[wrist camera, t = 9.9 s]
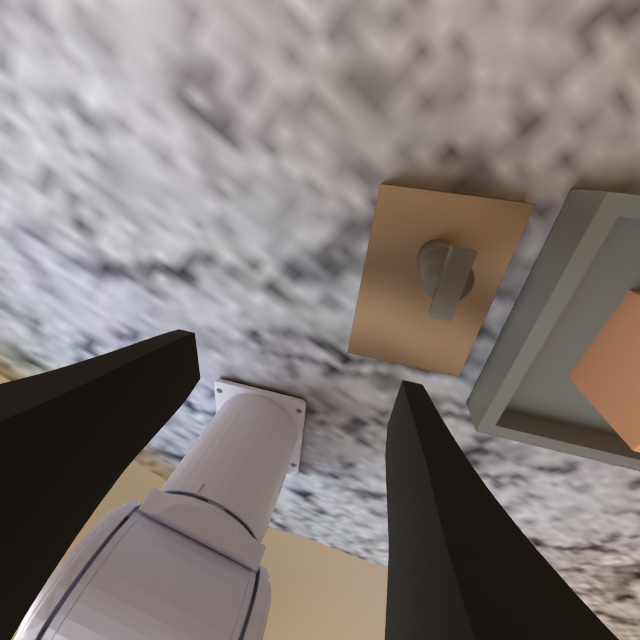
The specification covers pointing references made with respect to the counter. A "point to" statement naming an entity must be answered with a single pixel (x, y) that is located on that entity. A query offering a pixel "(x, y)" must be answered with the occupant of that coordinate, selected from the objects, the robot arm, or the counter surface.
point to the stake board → (404, 284)
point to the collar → (615, 371)
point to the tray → (563, 332)
